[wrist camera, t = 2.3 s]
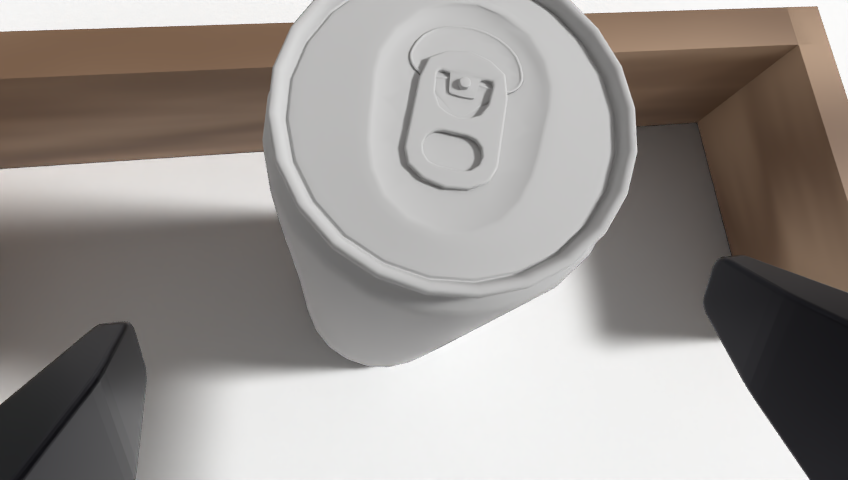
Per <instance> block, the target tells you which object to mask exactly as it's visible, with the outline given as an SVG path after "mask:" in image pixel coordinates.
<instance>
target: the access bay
mask: <svg viewBox="0 0 848 480" xmlns="http://www.w3.org/2000/svg"><path fill="white" fill-rule="evenodd" d="M584 15H585V16H586V17H587V18H588V19H589V20H590V21H591V22H592V23H593V24H594V25H595V26H596V27H597V28H598V29H599V31H600V32H601V34H602V35H603V37H604V39H605V40H606V42H607V43H608V45H609V47H610V48H611V50H612V52H613V53H614V55H615V56H616V58H617V60H618V61H619V63H620V64H621V66H622V69H623V72H624V75H625V78H626V81H627V84H628V88H629V91H630V94H631V97H632V100H633V103H634V106H635V117H636V126H651V125H666V124H681V123H696V122H697V124H698V127H699V131H700V135H701V139H702V143H703V147H704V150H705V154H706V158H707V162H708V166H709V170H710V173H711V177H712V181H713V185H714V189H715V193H716V196H717V200H718V204H719V208H720V212H721V215H722V219H723V223H724V227H725V231H726V235H727V238H728V242H729V246H730V250H731V254H732V256H736V255H745V256H748V257H751V258H754V259H756V260H759V261H762V262H765V263H768V264H770V265H773V266H776V267H779V268H781V269H784V270H787V271H790V272H793V273H795V274H798V275H801V276H804V277H806V278H809V279H812V280H815V281H817V282H820V283H823V284H826V285H829V286H831V287H834V288H837V289H840V290H842V291H845V292H848V99H847V96H846V93H845V90H844V87H843V84H842V80H841V77H840V74H839V71H838V68H837V65H836V62H835V59H834V56H833V53H832V50H831V47H830V44H829V41H828V38H827V35H826V32H825V29H824V26H823V23H822V19H821V16H820V13H819V10H818V7H817V6H815V7H783V8H751V9H719V10H686V11H654V12H622V13H590V14H584ZM293 24H294V23H267V24H235V25H203V26H170V27H138V28H106V29H74V30H41V31H9V32H0V169H1V168H16V167H31V166H46V165H61V164H76V163H91V162H106V161H121V160H137V159H152V158H167V157H182V156H197V155H212V154H227V153H242V152H258V151H264V149H263V140H262V139H263V131H264V123H265V115H266V107H267V98H268V94H269V91H270V85H271V76H272V68H273V65H274V63H275V61H276V59H277V57H278V54H279V52H280V50H281V48H282V45H283V43H284V41H285V39H286V36H287V34H288V32H289V30H290V28H291V26H292V25H293Z"/></svg>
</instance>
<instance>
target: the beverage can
mask: <svg viewBox="0 0 848 480" xmlns="http://www.w3.org/2000/svg"><path fill="white" fill-rule="evenodd" d="M262 140H263V149H264V155H265V161H266V167H267V173H268V179H269V185H270V191H271V194H272V198H273V201H274V205H275V208H276V212H277V215H278V218H279V221H280V225H281V228H282V231H283V234H284V237H285V240H286V243H287V245H288V248H289V251H290V253H291V256H292V259H293V262H294V265H295V267H296V270H297V273H298V276H299V279H300V283H301V286H302V290H303V294H304V297H305V301H306V305H307V309H308V312H309V315H310V317H311V319H312V322H313V324H314V326H315V329H316V331H317V332H318V333H319V335H320V336H321V337H322V339H323V340H324V341H325V342H326V344H327V345H328V346H329V347H330V348H331V349H333V350H334V351H336V352H337V353H339V354H340V355H342V356H343V357H345V358H346V359H348V360H351V361H354V362H357V363H360V364H363V365H366V366H377V367H391V366H395V365H399V364H403V363H408V362H410V361H413V360H415V359H417V358H419V357H421V356H424V355H426V354H428V353H430V352H432V351H434V350H436V349H438V348H440V347H442V346H444V345H446V344H448V343H450V342H452V341H454V340H455V339H457V338H459V337H461V336H463V335H465V334H467V333H469V332H471V331H473V330H475V329H477V328H479V327H481V326H482V325H484V324H486V323H488V322H490V321H492V320H494V319H496V318H498V317H500V316H502V315H504V314H506V313H508V312H509V311H511V310H513V309H515V308H517V307H519V306H521V305H523V304H525V303H527V302H529V301H530V300H532V299H534V298H536V297H538V296H540V295H542V294H544V293H546V292H548V291H549V290H551V289H553V288H555V287H556V286H557V285H558V284H560V283H561V282H562V281H563V280H564V279H565V278H566V277H567V276H568V275H569V274H570V273H571V272H572V271H573V270H574V269H575V268H576V267H577V266H578V265H579V264H580V263H581V262H582V261H583V260H584V259H585V258H586V257H588V256H589V255H590V253H591V251H592V249H593V248H594V246H595V244H596V242H597V241H598V240H599V239H600V238H601V237H602V236H604V235H605V234H606V232H607V230H608V228H609V227H610V225H611V223H612V221H613V219H614V218H615V216H616V214H617V212H618V211H619V209H620V207H621V205H622V203H623V202H624V200H625V198H626V196H627V194H628V190H629V186H630V182H631V177H632V173H633V169H634V164H635V160H636V155H637V136H636V117H635V106H634V103H633V100H632V97H631V94H630V91H629V88H628V84H627V81H626V78H625V75H624V72H623V69H622V66H621V64H620V63H619V61H618V60H617V58H616V56H615V55H614V53H613V52H612V50H611V48H610V47H609V45H608V43H607V42H606V40H605V39H604V37H603V35H602V34H601V32H600V31H599V29H598V28H597V27H596V26H595V25H594V24H593V23H592V22H591V21H590V20H589V19H588V18H587V17H586V16H585V15H584V14H583V13H582V12H581V11H580V10H579V9H578V8H577V7H576V6H575V5H574V4H573V3H572V1H571V0H313V1H312V3H311V4H310V5H309V6H308V7H307V8H306V10H305V11H304V12H303V13H302V14H301V15H300V17H299V18H298V19H297V20H296V21H295V22H294V24H293V25H292V26H291V28H290V30H289V32H288V34H287V36H286V39H285V41H284V43H283V45H282V48H281V50H280V52H279V54H278V57H277V59H276V61H275V63H274V65H273V68H272V76H271V85H270V91H269V94H268V98H267V107H266V115H265V123H264V131H263V139H262Z"/></svg>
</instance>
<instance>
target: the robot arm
mask: <svg viewBox="0 0 848 480" xmlns="http://www.w3.org/2000/svg"><path fill="white" fill-rule="evenodd" d="M703 304H704V309H705V312H706V315H707V316H708V318H709V320H710V322H711V324H712V326H713V327H714V329H715V331H716V333H717V335H718V336H719V338H720V340H721V342H722V344H723V346H724V347H725V349H726V351H727V353H728V355H729V357H730V358H731V360H732V362H733V364H734V366H735V367H736V369H737V371H738V373H739V375H740V377H741V378H742V380H743V382H744V383H745V385H746V387H747V389H748V390H749V392H750V393H751V395H752V396H753V398H754V399H755V401H756V402H757V404H758V405H759V407H760V408H761V410H762V411H763V413H764V414H765V416H766V417H767V418H768V420H769V421H770V423H771V424H772V426H773V427H774V429H775V430H776V432H777V433H778V434H779V436H780V437H781V439H782V440H783V442H784V443H785V445H786V446H787V448H788V449H789V450H790V452H791V453H792V455H793V456H794V458H795V459H796V461H797V462H798V464H799V465H800V467H801V468H802V469H803V471H804V472H805V474H806V475H807V477H808V478H809V480H848V292H845V291H842V290H840V289H837V288H834V287H831V286H829V285H826V284H823V283H820V282H817V281H815V280H812V279H809V278H806V277H804V276H801V275H798V274H795V273H793V272H790V271H787V270H784V269H781V268H779V267H776V266H773V265H770V264H768V263H765V262H762V261H759V260H756V259H754V258H751V257H748V256H745V255H736V256H727V257H721V258H719V259H718V260H717V261H716V262H715V263H714V265H713V268H712V272H711V275H710V278H709V282H708V285H707V288H706V291H705V295H704V299H703ZM145 391H146V368H145V363H144V360H143V357H142V353H141V350H140V347H139V343H138V340H137V337H136V333H135V330H134V328H133V326H132V325H131V324H130V323H129V322H125V321H124V322H115V323H105V324H99V325H97V326H96V327H94V328H93V329H91V330H90V331H89V332H88V333H87V334H85V335H84V336H83V337H82V338H81V339H79V340H78V341H77V342H76V343H74V344H73V345H72V346H71V347H70V348H68V349H67V350H66V351H65V352H64V353H62V354H61V355H60V356H59V357H58V358H56V359H55V360H54V361H53V362H51V363H50V364H49V365H48V366H47V367H45V368H44V369H43V370H42V371H41V372H39V373H38V374H37V375H36V376H35V377H33V378H32V379H31V380H30V381H28V382H27V383H26V384H25V385H24V386H22V387H21V388H20V389H19V390H18V391H16V392H15V393H14V394H13V395H11V396H10V397H9V398H8V399H7V400H5V401H4V402H3V403H2V404H1V405H0V480H135V478H136V471H137V463H138V454H139V445H140V436H141V427H142V418H143V409H144V400H145Z"/></svg>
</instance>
